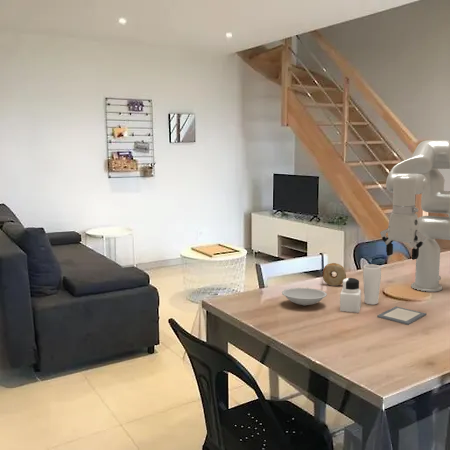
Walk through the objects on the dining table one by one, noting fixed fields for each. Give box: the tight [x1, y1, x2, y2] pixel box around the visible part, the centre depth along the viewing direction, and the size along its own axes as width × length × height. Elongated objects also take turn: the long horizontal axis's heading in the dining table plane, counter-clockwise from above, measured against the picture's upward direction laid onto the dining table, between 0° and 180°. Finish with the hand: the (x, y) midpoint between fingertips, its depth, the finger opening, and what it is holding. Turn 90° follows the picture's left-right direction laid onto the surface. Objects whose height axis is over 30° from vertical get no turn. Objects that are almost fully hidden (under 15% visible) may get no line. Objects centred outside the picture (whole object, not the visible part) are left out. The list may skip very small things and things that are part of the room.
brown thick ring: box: [322, 262, 347, 287], centre depth 229 cm, size 10×4×10 cm, turn 68°
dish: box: [281, 287, 328, 307], centre depth 204 cm, size 18×14×5 cm
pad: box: [376, 306, 427, 326], centre depth 189 cm, size 14×12×1 cm
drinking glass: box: [362, 264, 382, 305], centre depth 204 cm, size 7×7×15 cm
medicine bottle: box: [339, 277, 362, 314], centre depth 197 cm, size 7×7×12 cm
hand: (401, 257), depth 186 cm, fingers open, 9 cm apart
